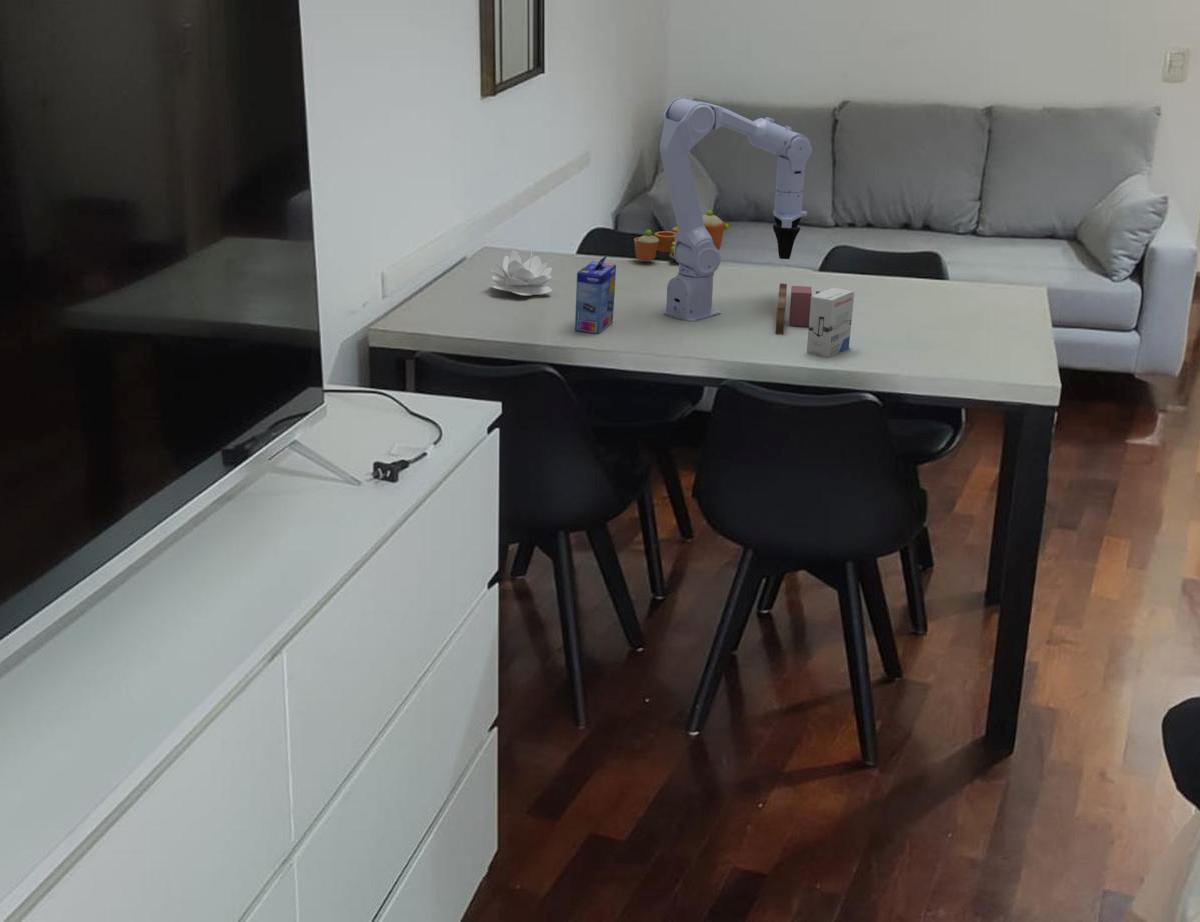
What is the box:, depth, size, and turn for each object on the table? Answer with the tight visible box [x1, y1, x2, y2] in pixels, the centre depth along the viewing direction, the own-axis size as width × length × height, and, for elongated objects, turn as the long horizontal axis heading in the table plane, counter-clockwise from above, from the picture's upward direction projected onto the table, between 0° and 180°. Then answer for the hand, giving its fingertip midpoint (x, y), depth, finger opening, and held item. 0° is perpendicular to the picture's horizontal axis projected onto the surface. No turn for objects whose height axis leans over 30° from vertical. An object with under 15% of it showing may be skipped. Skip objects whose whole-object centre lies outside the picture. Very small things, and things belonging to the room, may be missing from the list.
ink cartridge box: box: [574, 254, 617, 335], centre depth 289 cm, size 10×6×14 cm, turn 162°
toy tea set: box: [633, 209, 730, 261], centre depth 348 cm, size 26×16×10 cm, turn 146°
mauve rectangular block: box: [788, 285, 813, 328], centre depth 296 cm, size 5×4×7 cm
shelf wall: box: [775, 282, 788, 335], centre depth 297 cm, size 18×2×6 cm, turn 172°
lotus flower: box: [489, 249, 553, 296], centre depth 315 cm, size 14×15×9 cm
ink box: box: [806, 287, 855, 358], centre depth 278 cm, size 9×5×12 cm, turn 141°
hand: (784, 254), depth 307 cm, fingers open, 7 cm apart
